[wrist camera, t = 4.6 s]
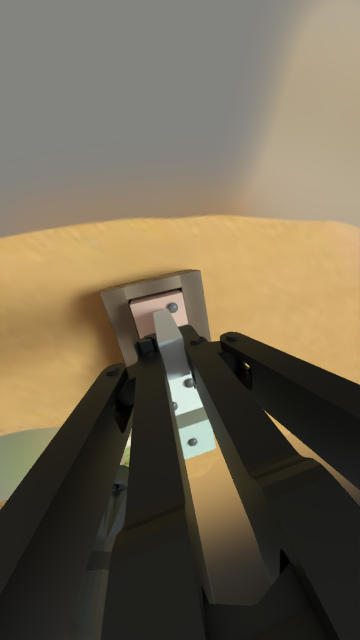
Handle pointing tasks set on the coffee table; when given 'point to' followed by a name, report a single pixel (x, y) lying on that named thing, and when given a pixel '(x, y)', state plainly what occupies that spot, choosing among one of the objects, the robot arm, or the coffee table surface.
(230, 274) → the coffee table surface
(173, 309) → the tile three
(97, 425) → the robot arm
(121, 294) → the board
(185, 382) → the tile two
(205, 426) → the tile one
